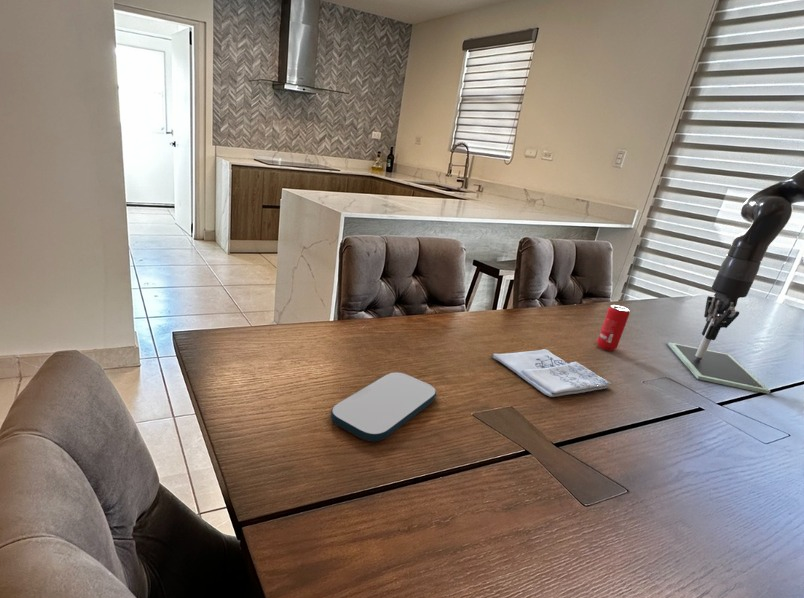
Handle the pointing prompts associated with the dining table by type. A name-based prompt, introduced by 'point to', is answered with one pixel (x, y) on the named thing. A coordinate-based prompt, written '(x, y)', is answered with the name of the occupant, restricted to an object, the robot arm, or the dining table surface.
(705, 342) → the stylus
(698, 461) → the dining table surface
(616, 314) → the beverage can
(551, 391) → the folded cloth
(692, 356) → the tablet
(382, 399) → the external hard drive
